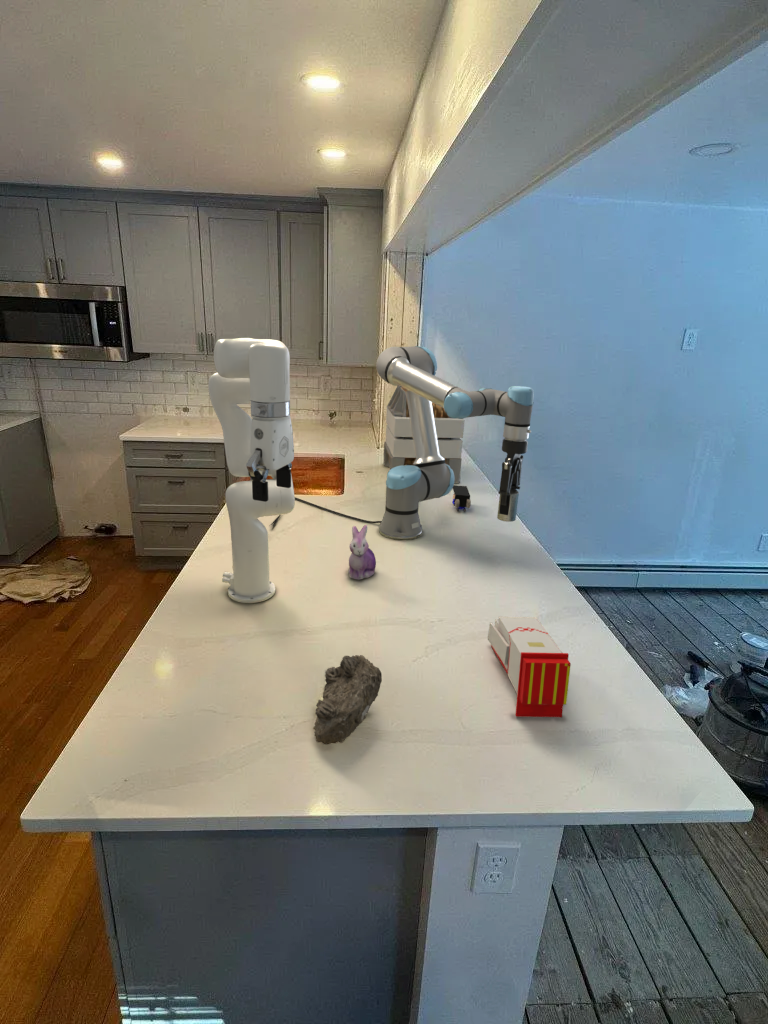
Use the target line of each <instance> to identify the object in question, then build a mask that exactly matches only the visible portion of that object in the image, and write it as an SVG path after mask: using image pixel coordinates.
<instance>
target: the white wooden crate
mask: <svg viewBox="0 0 768 1024" xmlns="http://www.w3.org/2000/svg"><path fill="white" fill-rule="evenodd" d="M432 408H433V414H434V421H435V427H436V434H437V440H438V447H439V453H440V455H441V456H442V457H443V458H444V459H445V464H446V465H449V466H450V469H452V470H453V473H454V484H455V483H456V484H459V483H461V472H462V461H463V460H462V453H463V442H464V441H463V440H462V439H463V438H464V431H465V430H464V429H465V418H463V419H458V418H455V419H454V418H450V417H449V416H448V415H447V413H446V412H445V410H444V408H443V407H441V406H439V405H437V404H435V403H433V402H432ZM385 414H386V415H385V423H386V428H385V438H384V442H383V466H384V467H388V468H389V470H390V469H392V468H394V467H397V466H401V465H404V466H406V465H413V463H414V462H415V460H416V454H415V448H414V442H413V435H412V429H411V423H410V416H409V410H408V404H407V397H406V392H405V391H404V390H402V389H401V387H400V385H398V386H396V388H395V390H394V392H393V394H392V395H391V398H390V400H389V402H388V404H387V405H386V413H385Z"/></svg>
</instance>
